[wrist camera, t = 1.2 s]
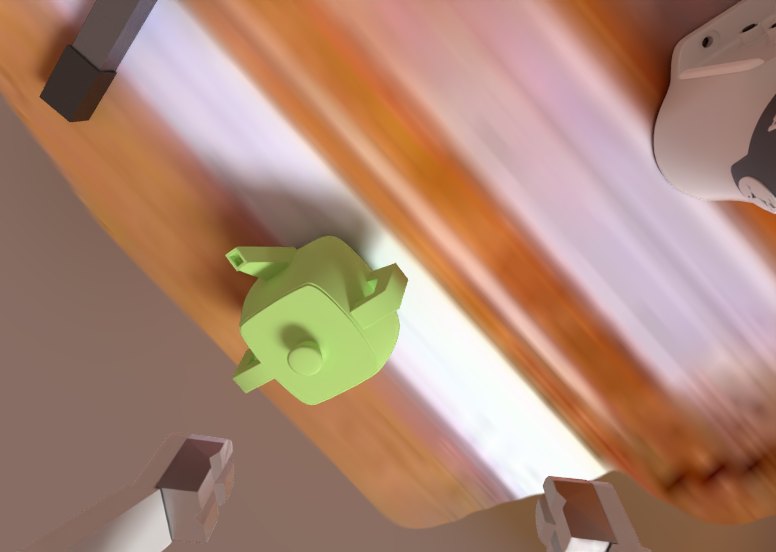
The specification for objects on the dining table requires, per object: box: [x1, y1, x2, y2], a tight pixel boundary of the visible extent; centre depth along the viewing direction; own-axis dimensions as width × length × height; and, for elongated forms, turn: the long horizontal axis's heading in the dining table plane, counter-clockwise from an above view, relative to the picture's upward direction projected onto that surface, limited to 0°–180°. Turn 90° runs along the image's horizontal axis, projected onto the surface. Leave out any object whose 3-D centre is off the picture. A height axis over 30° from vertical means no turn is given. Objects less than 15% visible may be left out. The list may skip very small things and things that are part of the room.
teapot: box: [225, 236, 408, 405], centre depth 42 cm, size 18×20×13 cm
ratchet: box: [40, 0, 157, 122], centre depth 35 cm, size 21×6×8 cm, turn 136°
